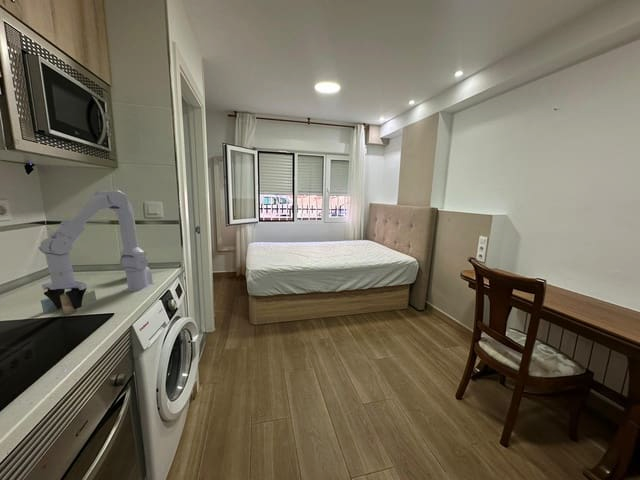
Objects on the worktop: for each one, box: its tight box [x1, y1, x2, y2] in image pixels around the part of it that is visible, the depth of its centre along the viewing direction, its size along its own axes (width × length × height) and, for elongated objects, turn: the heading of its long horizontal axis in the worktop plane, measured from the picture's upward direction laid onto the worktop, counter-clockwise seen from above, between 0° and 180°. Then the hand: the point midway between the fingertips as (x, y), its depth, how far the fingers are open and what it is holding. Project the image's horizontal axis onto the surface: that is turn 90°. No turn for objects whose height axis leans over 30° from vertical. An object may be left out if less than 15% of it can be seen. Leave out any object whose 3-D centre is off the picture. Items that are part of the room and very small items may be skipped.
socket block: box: [81, 289, 97, 307], centre depth 99 cm, size 7×7×4 cm
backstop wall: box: [40, 289, 71, 314], centre depth 98 cm, size 14×2×5 cm, turn 176°
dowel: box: [60, 293, 78, 316], centre depth 91 cm, size 3×3×7 cm
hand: (69, 307), depth 91 cm, fingers open, 6 cm apart
